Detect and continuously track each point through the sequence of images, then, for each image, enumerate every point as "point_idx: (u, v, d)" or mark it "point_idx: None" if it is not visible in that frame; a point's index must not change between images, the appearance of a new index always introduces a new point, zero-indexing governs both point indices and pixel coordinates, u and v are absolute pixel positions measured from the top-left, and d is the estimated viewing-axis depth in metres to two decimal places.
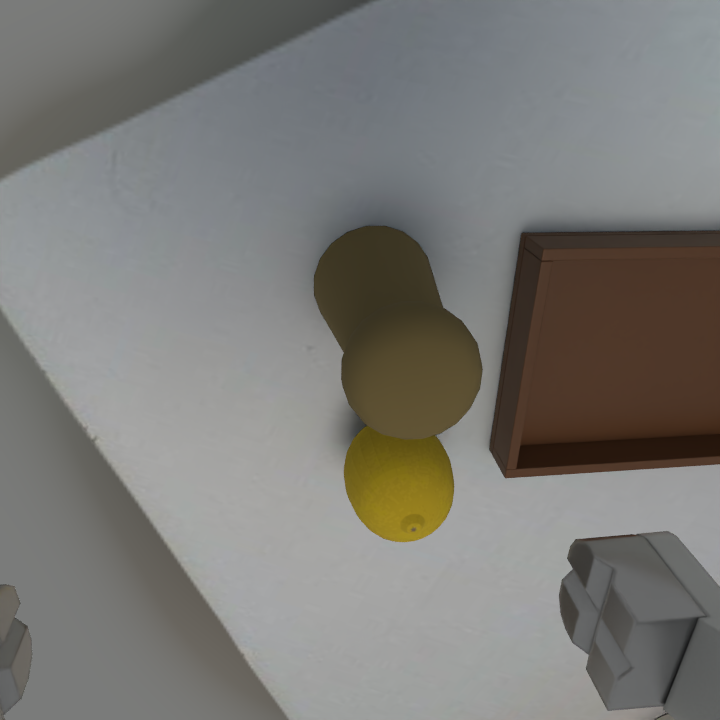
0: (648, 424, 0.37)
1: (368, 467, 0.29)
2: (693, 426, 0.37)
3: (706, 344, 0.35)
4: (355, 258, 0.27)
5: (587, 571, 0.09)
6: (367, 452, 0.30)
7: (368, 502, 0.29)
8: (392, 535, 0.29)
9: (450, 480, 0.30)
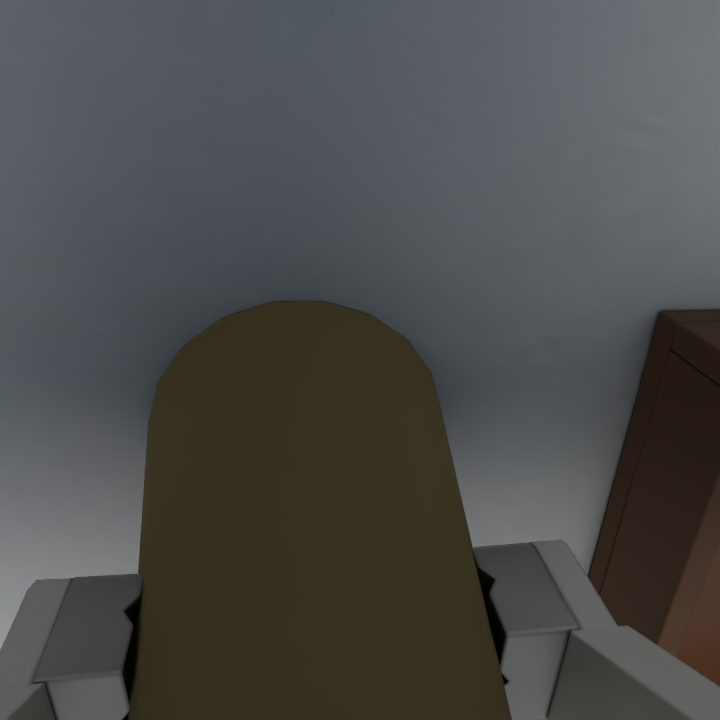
0: None
1: None
2: None
3: None
4: (218, 416, 0.09)
5: None
6: None
7: None
8: None
9: None
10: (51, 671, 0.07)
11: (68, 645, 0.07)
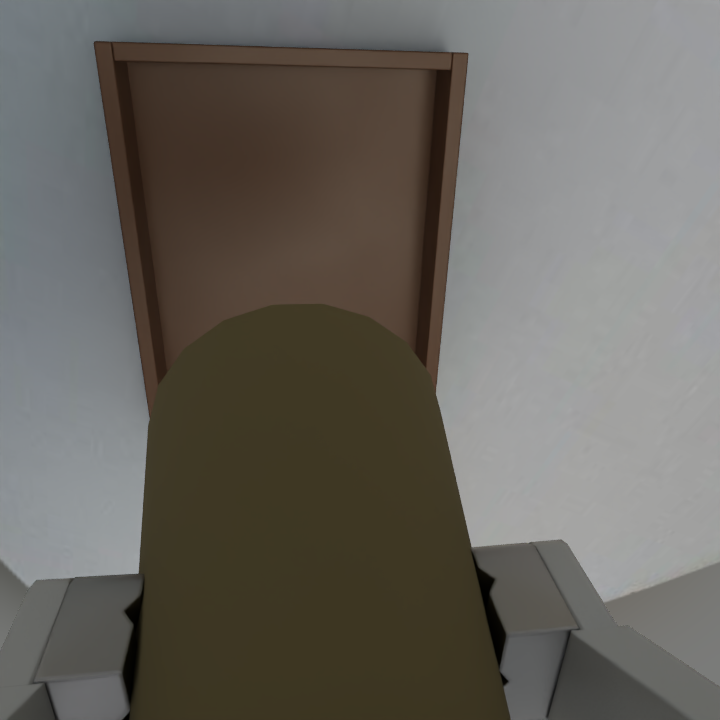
0: (402, 240, 0.28)
1: None
2: (414, 171, 0.26)
3: (284, 191, 0.26)
4: (217, 419, 0.09)
5: None
6: None
7: None
8: None
9: None
10: (51, 671, 0.07)
11: (68, 645, 0.07)
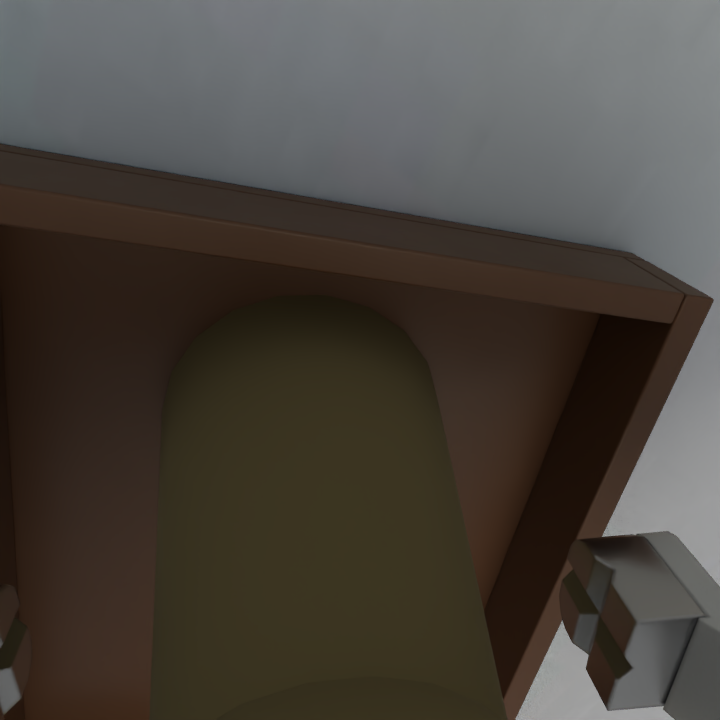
0: (477, 535, 0.16)
1: None
2: (526, 437, 0.15)
3: None
4: (228, 399, 0.10)
5: (587, 571, 0.09)
6: None
7: None
8: None
9: None
10: None
11: None
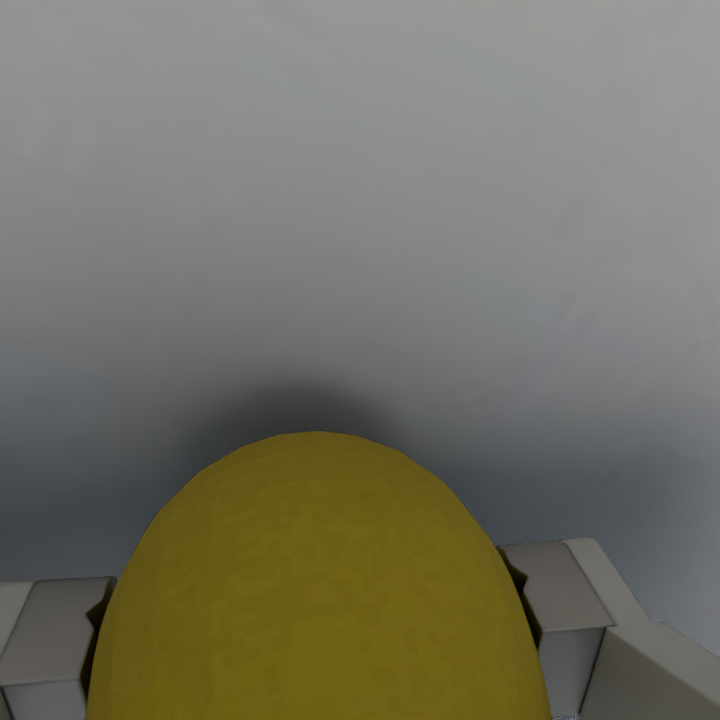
0: None
1: None
2: None
3: None
4: None
5: None
6: None
7: None
8: None
9: None
10: (8, 675, 0.07)
11: (27, 649, 0.07)
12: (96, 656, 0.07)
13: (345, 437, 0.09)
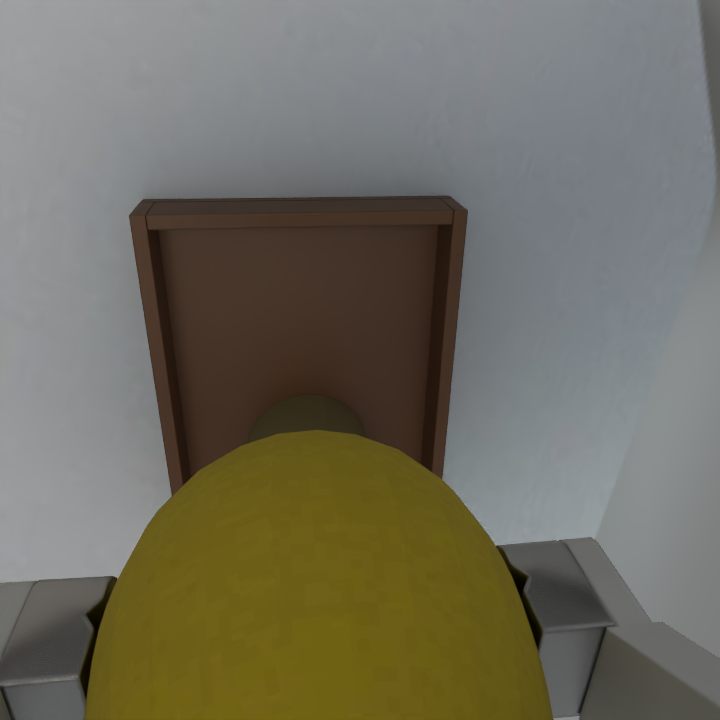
0: (202, 401, 0.29)
1: None
2: (201, 454, 0.31)
3: None
4: None
5: None
6: None
7: None
8: None
9: None
10: (7, 675, 0.07)
11: (26, 649, 0.07)
12: (95, 656, 0.07)
13: (345, 436, 0.09)
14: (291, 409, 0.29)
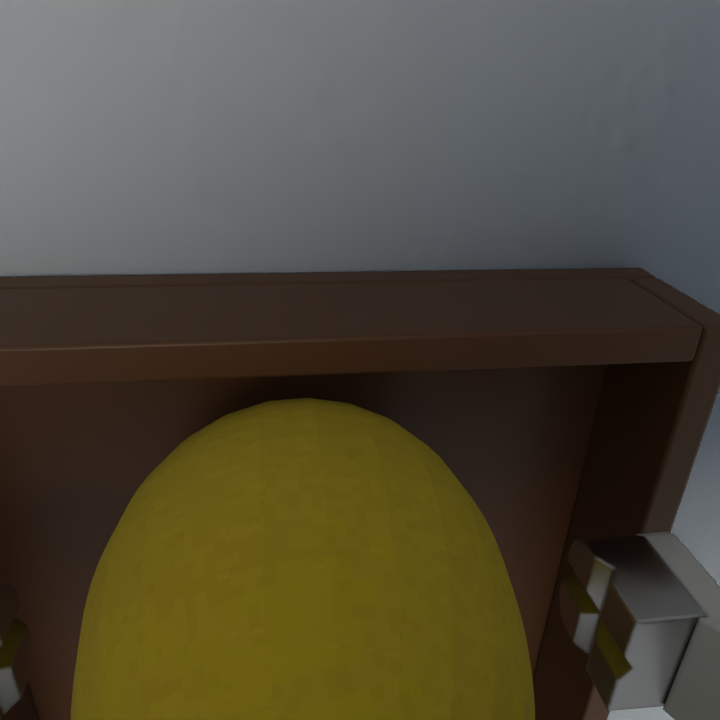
0: None
1: None
2: None
3: None
4: None
5: (587, 571, 0.09)
6: None
7: None
8: None
9: None
10: None
11: None
12: (86, 606, 0.07)
13: (334, 402, 0.09)
14: None
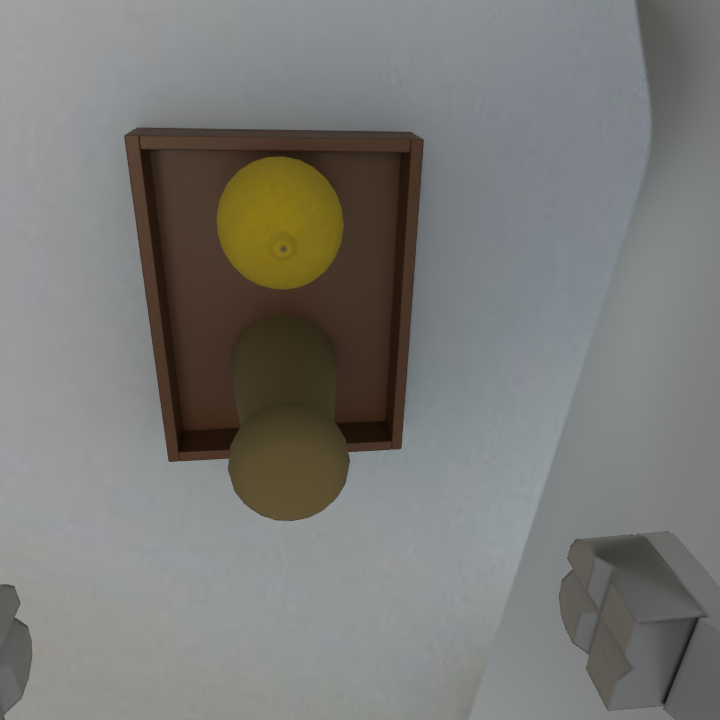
0: (188, 318, 0.33)
1: None
2: (187, 369, 0.34)
3: None
4: None
5: (587, 571, 0.09)
6: None
7: (329, 253, 0.25)
8: (304, 221, 0.24)
9: (230, 259, 0.26)
10: None
11: None
12: (220, 199, 0.26)
13: None
14: (269, 326, 0.33)
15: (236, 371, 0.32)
